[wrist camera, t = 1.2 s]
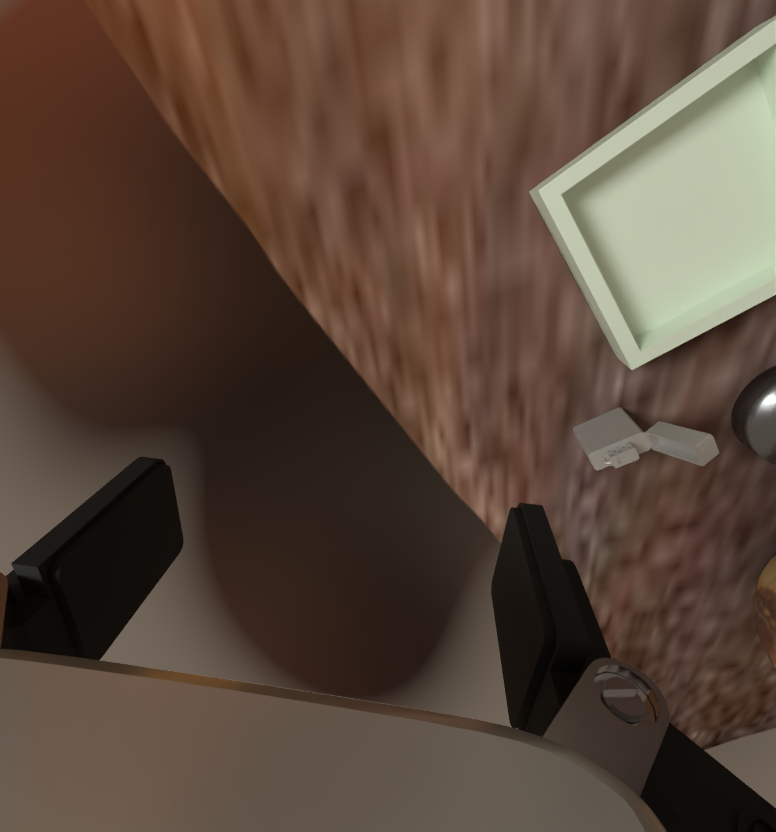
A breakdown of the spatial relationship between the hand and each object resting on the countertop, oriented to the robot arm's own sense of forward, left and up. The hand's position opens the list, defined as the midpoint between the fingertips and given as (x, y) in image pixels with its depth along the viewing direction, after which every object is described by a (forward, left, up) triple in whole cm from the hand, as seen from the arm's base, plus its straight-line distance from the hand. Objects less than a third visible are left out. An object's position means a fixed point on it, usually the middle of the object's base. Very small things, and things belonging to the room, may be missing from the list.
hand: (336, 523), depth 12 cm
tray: (-19, +5, -24) cm, 31 cm away
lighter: (-10, +17, -25) cm, 31 cm away
